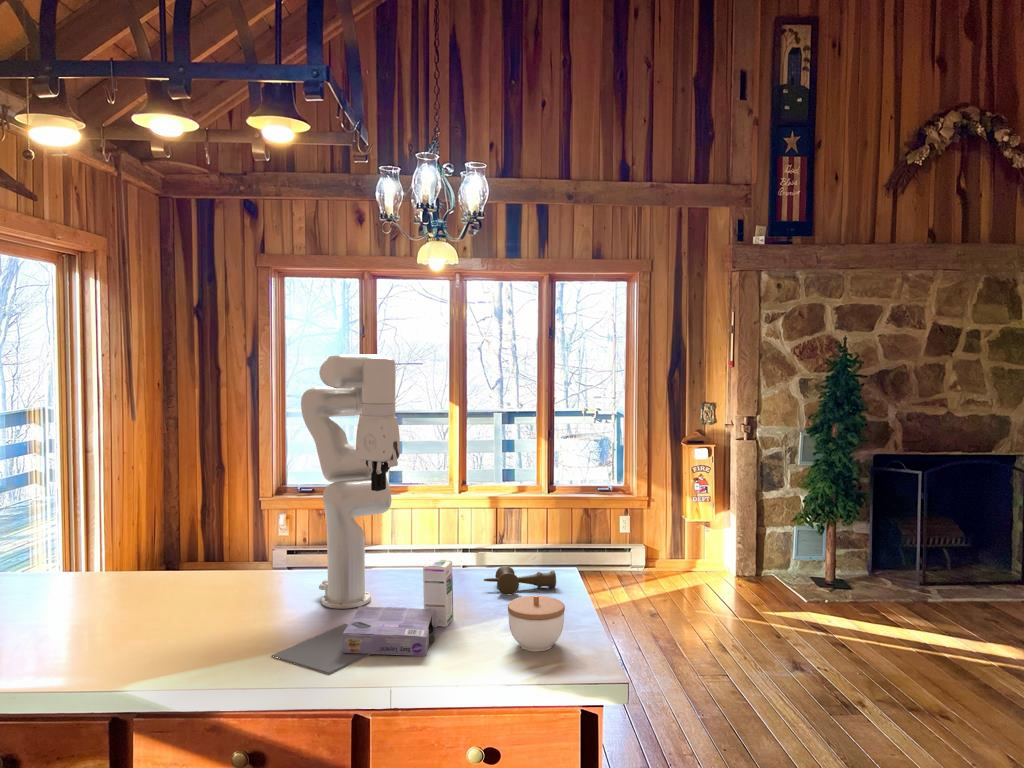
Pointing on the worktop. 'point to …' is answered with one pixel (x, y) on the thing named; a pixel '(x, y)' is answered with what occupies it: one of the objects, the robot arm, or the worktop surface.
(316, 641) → the rubber mat
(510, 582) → the kendama
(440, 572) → the syrup box
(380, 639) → the cake pan box
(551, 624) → the lidded bowl
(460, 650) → the worktop surface
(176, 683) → the worktop surface
